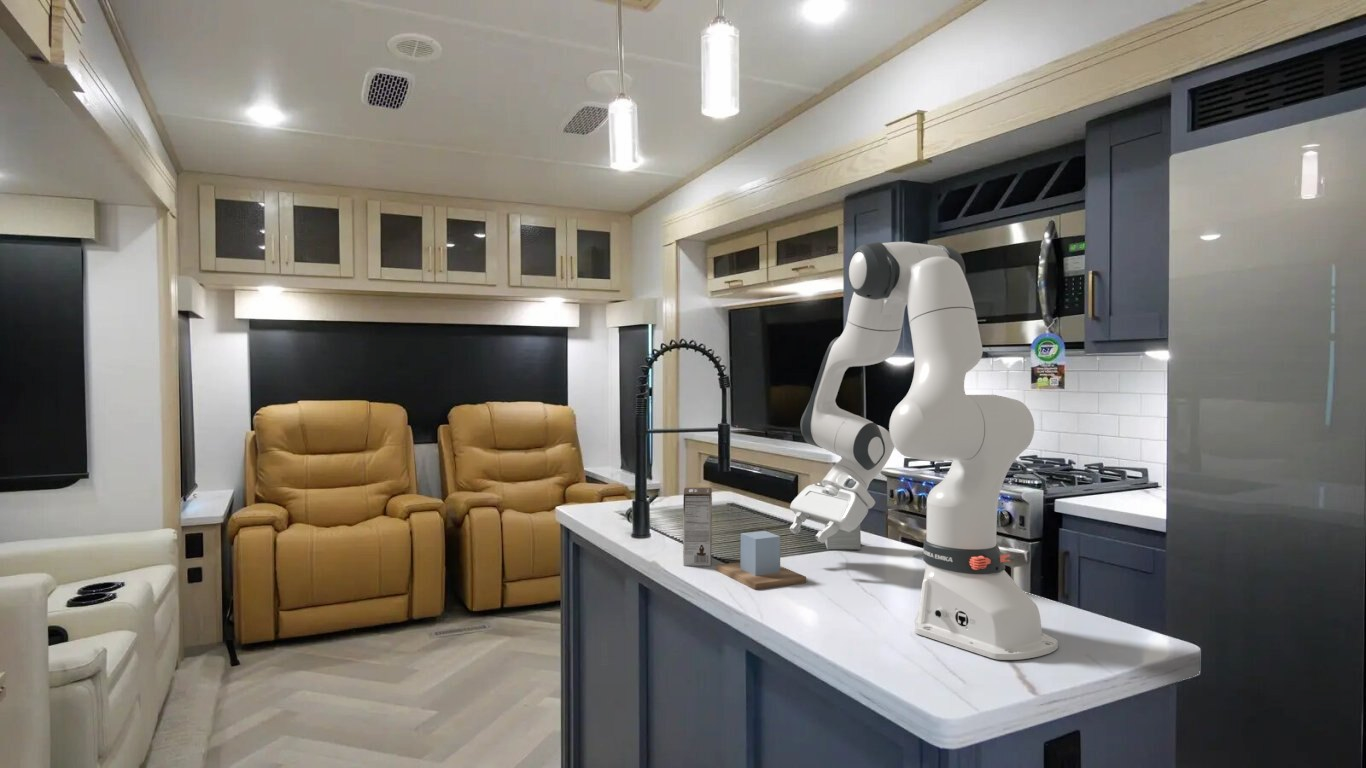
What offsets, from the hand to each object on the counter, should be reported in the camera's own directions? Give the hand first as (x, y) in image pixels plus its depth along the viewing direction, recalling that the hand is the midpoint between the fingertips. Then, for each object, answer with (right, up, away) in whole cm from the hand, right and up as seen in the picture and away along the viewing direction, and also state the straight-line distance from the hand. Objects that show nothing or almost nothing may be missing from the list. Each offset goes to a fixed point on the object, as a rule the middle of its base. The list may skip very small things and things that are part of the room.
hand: (805, 536), depth 163 cm
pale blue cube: (-10, -6, -5) cm, 13 cm away
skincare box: (+12, -7, +22) cm, 26 cm away
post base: (-10, -7, -5) cm, 14 cm away
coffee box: (-23, -7, +8) cm, 25 cm away
